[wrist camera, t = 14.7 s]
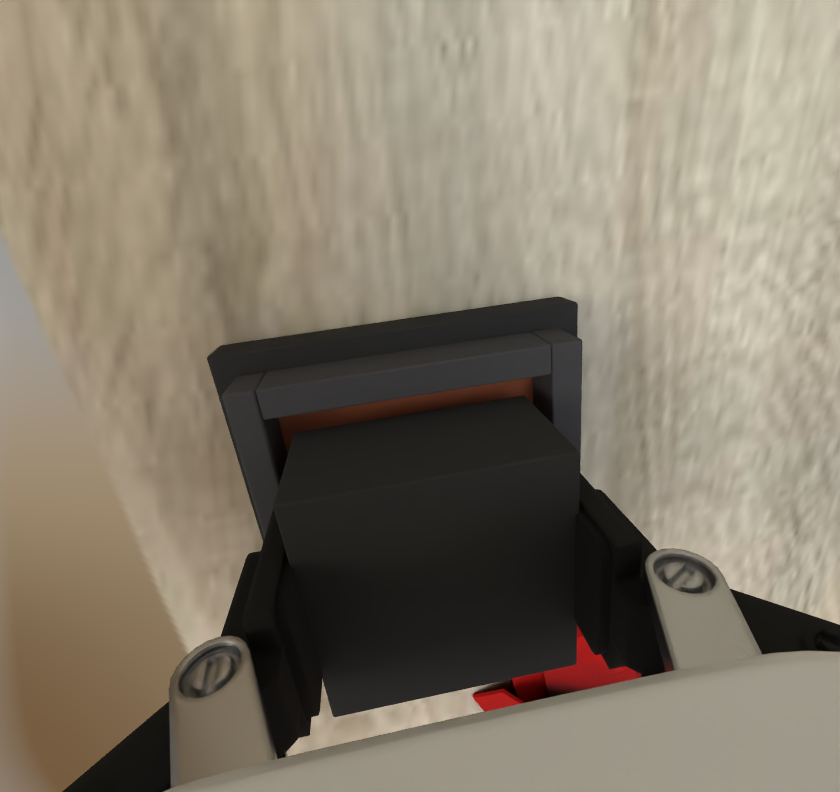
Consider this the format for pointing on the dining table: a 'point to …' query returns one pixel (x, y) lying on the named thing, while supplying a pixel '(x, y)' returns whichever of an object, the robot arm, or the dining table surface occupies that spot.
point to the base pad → (394, 378)
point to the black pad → (433, 549)
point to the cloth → (558, 680)
